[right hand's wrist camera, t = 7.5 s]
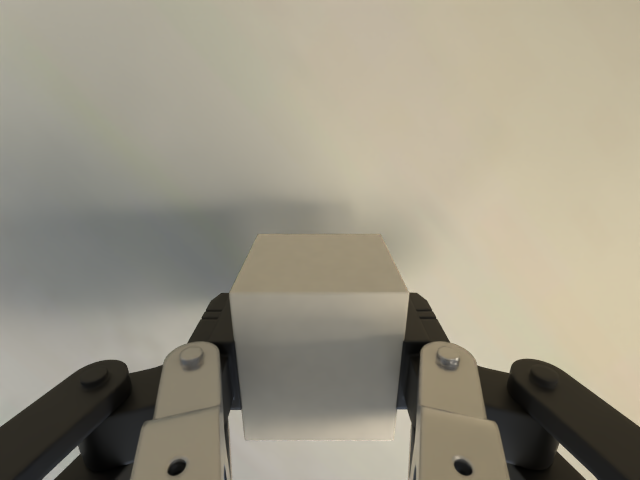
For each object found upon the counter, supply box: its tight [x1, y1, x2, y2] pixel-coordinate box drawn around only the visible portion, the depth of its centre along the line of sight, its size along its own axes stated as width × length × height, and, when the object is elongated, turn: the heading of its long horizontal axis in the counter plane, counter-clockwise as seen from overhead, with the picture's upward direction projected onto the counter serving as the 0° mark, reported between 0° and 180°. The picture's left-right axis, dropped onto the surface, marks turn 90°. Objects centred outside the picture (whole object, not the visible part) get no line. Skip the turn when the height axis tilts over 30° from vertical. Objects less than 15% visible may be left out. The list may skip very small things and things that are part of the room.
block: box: [229, 234, 409, 441], centre depth 11 cm, size 4×5×4 cm
